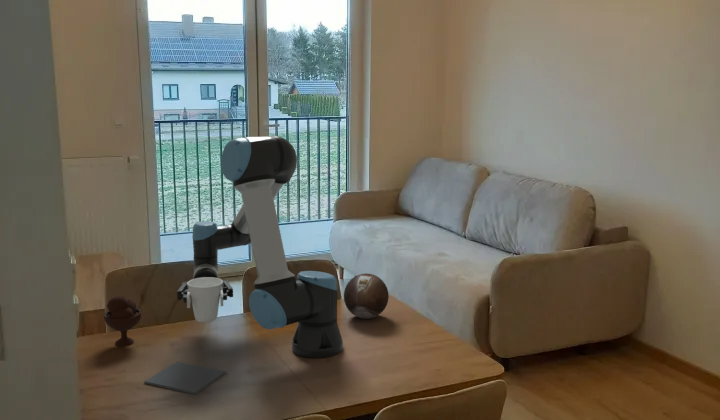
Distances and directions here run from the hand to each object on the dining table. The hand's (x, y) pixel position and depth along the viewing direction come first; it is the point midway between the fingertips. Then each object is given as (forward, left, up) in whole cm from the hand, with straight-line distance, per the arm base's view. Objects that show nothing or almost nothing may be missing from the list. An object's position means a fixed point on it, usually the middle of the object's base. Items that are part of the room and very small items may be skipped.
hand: (205, 302), depth 192 cm
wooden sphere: (-27, -53, -18) cm, 62 cm away
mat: (-1, +11, -18) cm, 21 cm away
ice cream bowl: (+31, -2, -18) cm, 36 cm away
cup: (+3, -4, -7) cm, 8 cm away
